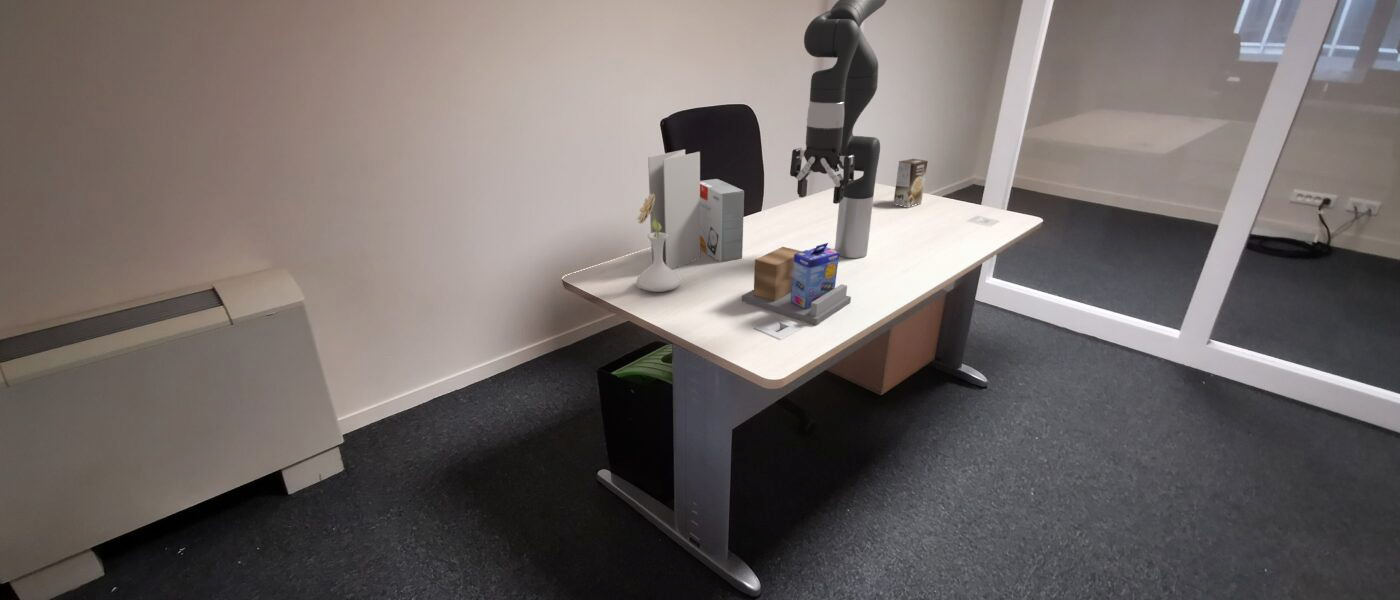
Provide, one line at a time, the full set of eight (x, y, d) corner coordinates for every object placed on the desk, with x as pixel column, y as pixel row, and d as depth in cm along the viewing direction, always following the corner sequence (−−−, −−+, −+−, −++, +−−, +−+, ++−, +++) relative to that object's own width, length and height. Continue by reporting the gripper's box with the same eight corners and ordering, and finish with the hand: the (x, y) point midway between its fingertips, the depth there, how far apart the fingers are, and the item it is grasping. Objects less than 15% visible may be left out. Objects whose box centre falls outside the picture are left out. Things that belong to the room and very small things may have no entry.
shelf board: (778, 281, 161) (779, 265, 159) (850, 302, 149) (852, 285, 147) (741, 301, 150) (742, 284, 148) (816, 325, 138) (818, 306, 136)
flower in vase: (642, 277, 164) (639, 183, 154) (685, 280, 162) (684, 185, 152) (629, 297, 152) (624, 197, 142) (675, 300, 150) (673, 199, 140)
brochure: (685, 253, 181) (684, 149, 169) (700, 257, 178) (700, 151, 166) (651, 267, 171) (648, 157, 159) (666, 271, 168) (664, 160, 156)
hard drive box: (695, 246, 187) (694, 181, 179) (717, 243, 190) (718, 178, 182) (720, 263, 174) (720, 192, 166) (743, 258, 177) (745, 189, 169)
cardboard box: (781, 280, 158) (782, 246, 154) (801, 286, 154) (803, 251, 151) (753, 294, 149) (754, 259, 146) (774, 301, 146) (776, 265, 142)
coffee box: (907, 208, 225) (913, 164, 219) (892, 204, 230) (898, 161, 223) (921, 204, 230) (928, 160, 224) (906, 200, 235) (912, 157, 228)
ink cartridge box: (806, 310, 142) (810, 250, 136) (789, 302, 146) (792, 243, 140) (835, 299, 147) (841, 241, 141) (818, 292, 151) (823, 235, 145)
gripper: (864, 125, 128) (856, 201, 135) (804, 118, 137) (800, 191, 143) (847, 129, 123) (840, 209, 130) (786, 122, 131) (782, 198, 138)
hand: (819, 199), depth 137 cm, fingers open, 8 cm apart
